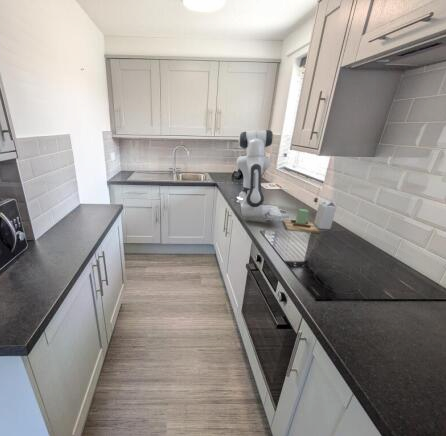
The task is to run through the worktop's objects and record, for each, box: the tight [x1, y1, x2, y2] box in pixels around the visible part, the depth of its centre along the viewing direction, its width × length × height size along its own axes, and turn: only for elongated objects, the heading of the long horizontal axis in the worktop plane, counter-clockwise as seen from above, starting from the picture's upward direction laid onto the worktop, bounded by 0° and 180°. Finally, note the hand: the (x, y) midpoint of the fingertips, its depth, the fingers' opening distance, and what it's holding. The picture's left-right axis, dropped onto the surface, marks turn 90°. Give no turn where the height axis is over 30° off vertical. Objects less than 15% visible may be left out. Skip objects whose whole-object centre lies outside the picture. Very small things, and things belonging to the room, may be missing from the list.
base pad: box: [282, 218, 320, 234], centre depth 148 cm, size 16×18×3 cm
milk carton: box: [313, 197, 337, 230], centre depth 146 cm, size 7×7×19 cm
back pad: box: [295, 208, 310, 224], centre depth 146 cm, size 4×5×10 cm
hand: (287, 214), depth 148 cm, fingers open, 8 cm apart
